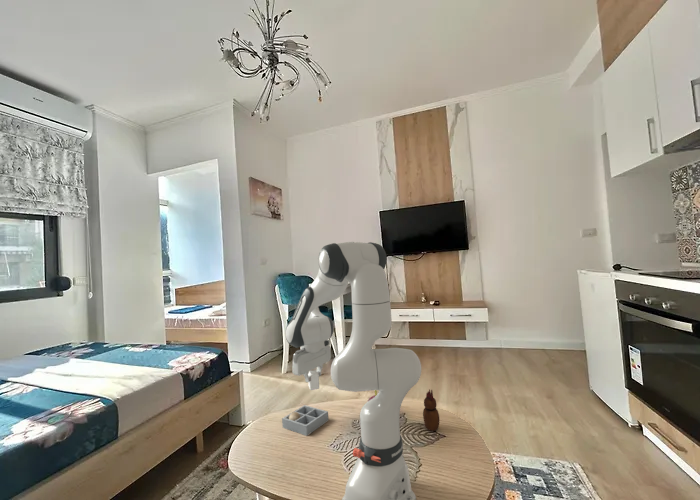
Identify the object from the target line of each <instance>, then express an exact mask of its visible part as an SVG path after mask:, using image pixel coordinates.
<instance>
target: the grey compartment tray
mask: <svg viewBox="0 0 700 500" xmlns="http://www.w3.org/2000/svg"><path fill="white" fill-rule="evenodd" d="M293 412H297V413H299V414H300V418H299V419H297V420H296V421H293V420H290V419H289V416H290V414H291V413H293ZM291 413H289V414H286V415H285V416H284V417H282V418H281V422H282V423H281V425H282V428H283V429H286V430H287V431H288V430H289V431H292V432H295V433H298V434H300V435H303V436H306V437H307V436H309V435H310V434H312V433H313V432H315V431H316V430H318V428H320V427H321V426H323V425H324V424H325V423H327V422H328V421H329V411H327V410H323V409H320V408H317V407H313V406H309V405H307V404H303V405H302V406H301V407H299V408H298V409H296V410H294V411H292V412H291Z"/></svg>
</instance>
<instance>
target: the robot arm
mask: <svg viewBox="0 0 700 500" xmlns="http://www.w3.org/2000/svg"><path fill="white" fill-rule="evenodd" d="M387 257H388V256H387V252H386V251H385V249H384V247H383V246H382V245H381V244H378V243H377V242H371V241H370V242H360V241H359V242H358V241H357V242H355V241H347V242H340V243H335V242H334V243H329V244H327V245H324V246H323V247H322V248H321V250H320V251H319V254H318V266H319V267H318V273H317V274H316V276H315V279H314V280H313V282H311V284H310V285H309V286H308V287H307V288H305V289H304V290H303V292H302V294H301V297H300V299H299V301H298V303H297V305H296V308H295V309H294V313H293V315H292V317H291V319H290V320H289V322H288V324H287V325H286V328H285V338H286V342H287V343H288V344H289V345H290V346H292V347H293V348H296V349H298V348H300V349H298V350H295V353H293V356H292V366H291V369H292V371H291V372H292V374H293V375H294V376H304V381H305V382H306V383H308V382H310V381H311V377H309V376H308V374H309V371H310V370H312V369H314V368H316V367H317V372H318V374H319V377H322V370H323V368H324V364H326V363H328V362H330V361H331V358H332V351H331V346H330V344H331V340H330V339H331V338H332V336H333V334H334V330H335V327H334V326H335V325H334V321H333V320H332V319H331V317H329V316H327V315H325V314H324V313H322V312H321V311H320V308H319V307H320V306H322V305H324V304H327V303H329V302H333V301H335V300H337V299H339V298H340V297H341V296H343V294H344V293H345V292H346V290H347V287H348V285H349V284H350V288H351V311H352V312H351V313H352V314H351V315H352V325H351V334H350V337H349V340H348V342H347V344H346V345H345V346H344V348H343V349H342V350H341V351H340V352H339V353H338V354H337V355H336V356H335V357H334V358H333V360H332V362H331V365H330V378H331V380H332V383H333V384H334V386H335V387H336V389H338V390H340V391H344V392H346V391H347V392H354V393H357V392H368V391H375V390H376V391H377V392H378V393H377V395H376V396H375V397H374V398H373V399H371V400H369V401H368V402H365V404H364V405H362V407H361V410H360V412H359V426H360V437H359V438H360V439H359V443H358V448H357V447H354V448H353V451H352V456H353V457H357V459H356V462H355V463H354V466H353V468H352V471H351V472H350V475H349V478H348V479H347V481H346V485H345V489H344V491H345V492H344V495H343V496H342V499H341V500H417V496H416V494H415V492H414V491H413V490H412V485H411V478H410V472H409V466H408V464H407V462H406V460H405V458H404V455H403V452H404V448H403V447H404V444H403V443H404V442H403V438H402V435H401V430H400V427H401V425H400V421H401V420H400V418H401V417H400V415H401V413H400V412H401V407H402V403H403V401H404V399H405V397H406V395H407V394H408V392H409V391H410V390H411V389H412V388H413V387H414V386H415V385H417V383H418V382H419V380H420V378H421V375H422V363H421V360H420V358H419V356H418V354H416V352H415V351H414V350H412V349H409V348H404V347H403V348H402V347H388V348H375V349H374V348H373V345H374V343H376V341H377V340H379V339H381V338H382V337H384V336H385V335H387V334H388V333H389V332H390V330H391V328H392V325H393V324H392V322H393V321H392V309H391V308H392V307H391V297H390V296H391V295H390V289H389V284H388V279H387V275H386V272H385V268H386V266H387V260H388V259H387Z"/></svg>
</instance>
